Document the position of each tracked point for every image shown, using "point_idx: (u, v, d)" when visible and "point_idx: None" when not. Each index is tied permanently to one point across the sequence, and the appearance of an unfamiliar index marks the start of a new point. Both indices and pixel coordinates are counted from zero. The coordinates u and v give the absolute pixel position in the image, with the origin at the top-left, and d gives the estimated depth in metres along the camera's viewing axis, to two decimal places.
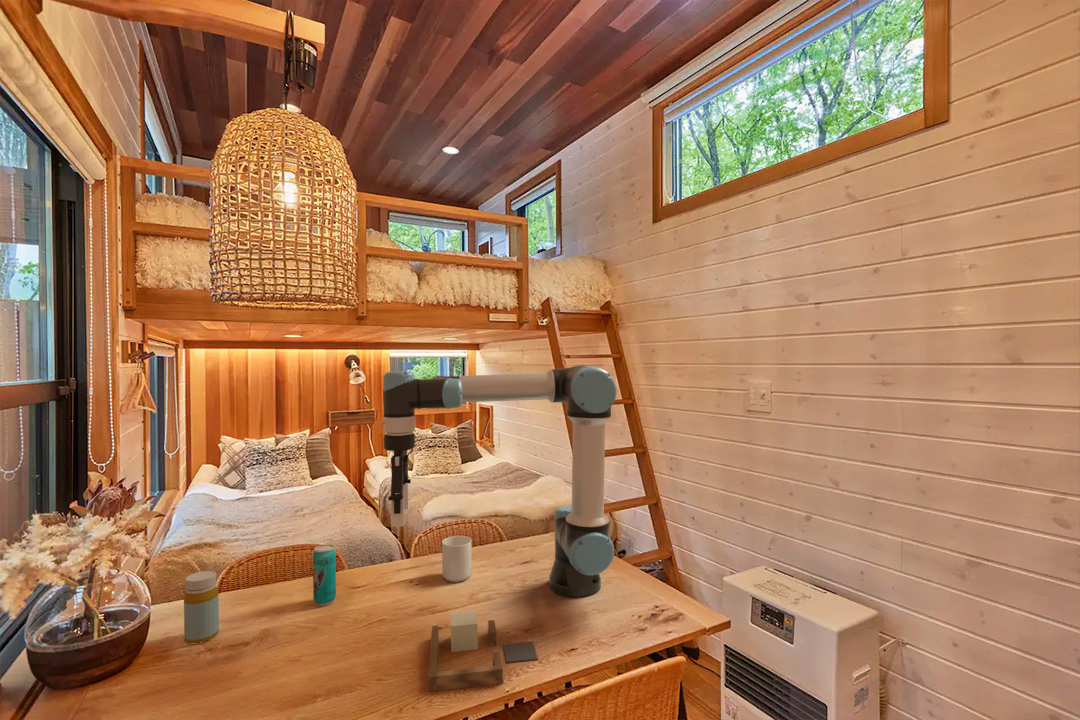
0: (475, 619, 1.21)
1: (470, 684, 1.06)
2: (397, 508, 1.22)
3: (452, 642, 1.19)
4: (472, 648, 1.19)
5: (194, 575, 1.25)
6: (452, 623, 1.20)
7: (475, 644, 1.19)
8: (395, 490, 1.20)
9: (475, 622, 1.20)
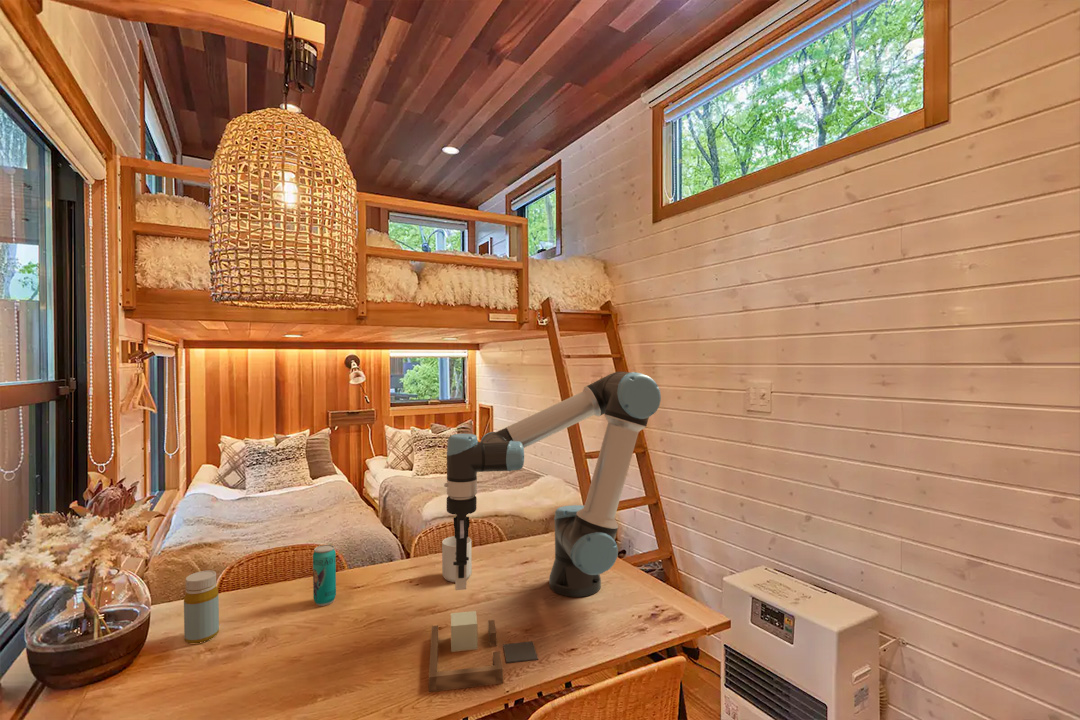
0: (475, 619, 1.21)
1: (470, 684, 1.06)
2: (461, 573, 1.29)
3: (452, 642, 1.19)
4: (472, 648, 1.19)
5: (194, 575, 1.25)
6: (452, 623, 1.20)
7: (475, 644, 1.19)
8: (460, 559, 1.27)
9: (475, 622, 1.20)
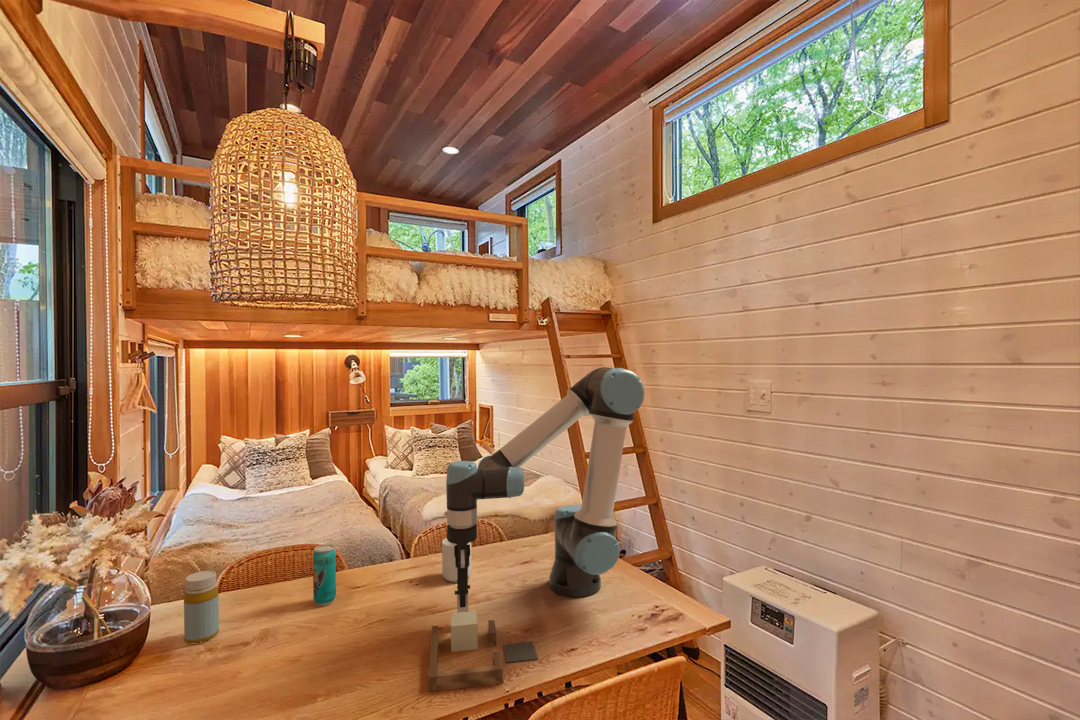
0: (475, 619, 1.21)
1: (470, 684, 1.06)
2: (463, 602, 1.28)
3: (452, 642, 1.19)
4: (472, 648, 1.19)
5: (194, 575, 1.25)
6: (452, 623, 1.20)
7: (475, 644, 1.19)
8: (462, 589, 1.26)
9: (475, 622, 1.20)
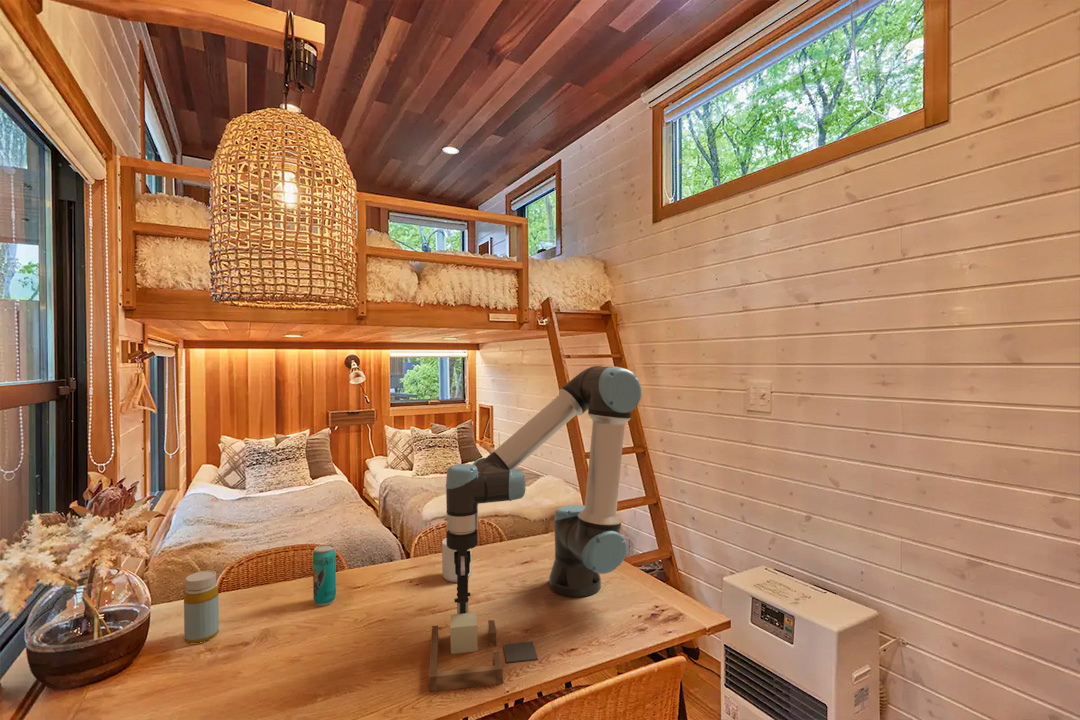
0: (475, 620, 1.20)
1: (470, 684, 1.06)
2: (463, 610, 1.24)
3: (452, 644, 1.18)
4: (472, 650, 1.18)
5: (194, 575, 1.25)
6: (452, 624, 1.19)
7: (475, 646, 1.19)
8: (462, 597, 1.22)
9: (475, 624, 1.19)
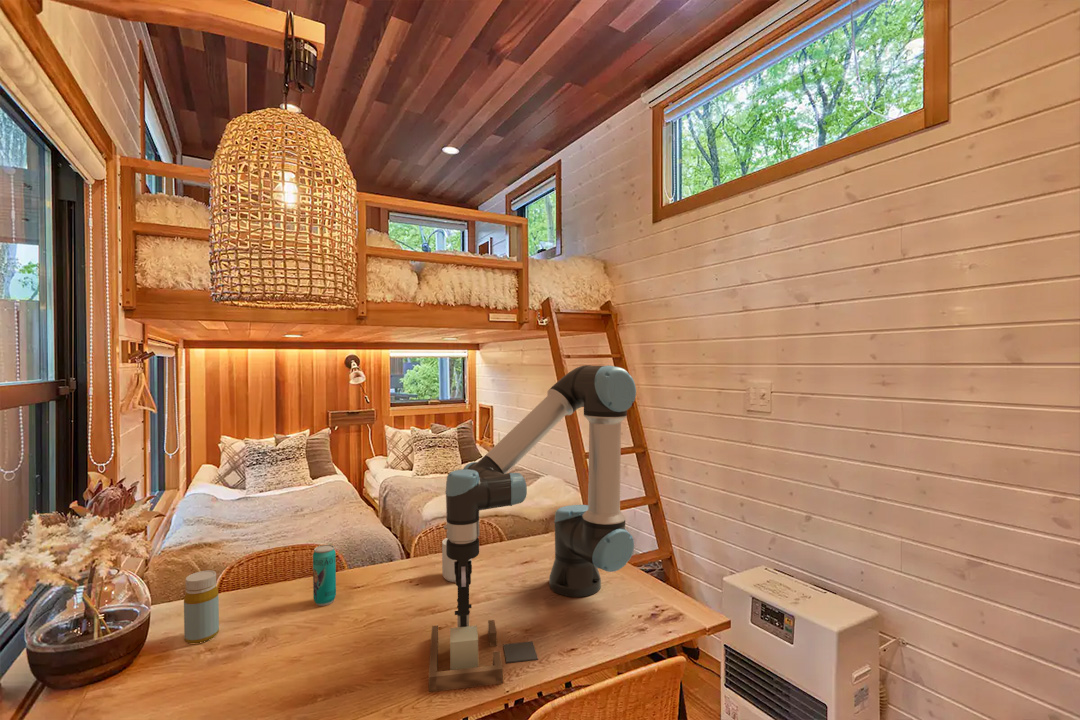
0: (476, 635, 1.14)
1: (470, 684, 1.06)
2: (463, 623, 1.18)
3: (451, 659, 1.12)
4: (473, 666, 1.12)
5: (194, 575, 1.25)
6: (451, 639, 1.13)
7: (476, 661, 1.12)
8: (462, 609, 1.16)
9: (476, 638, 1.13)
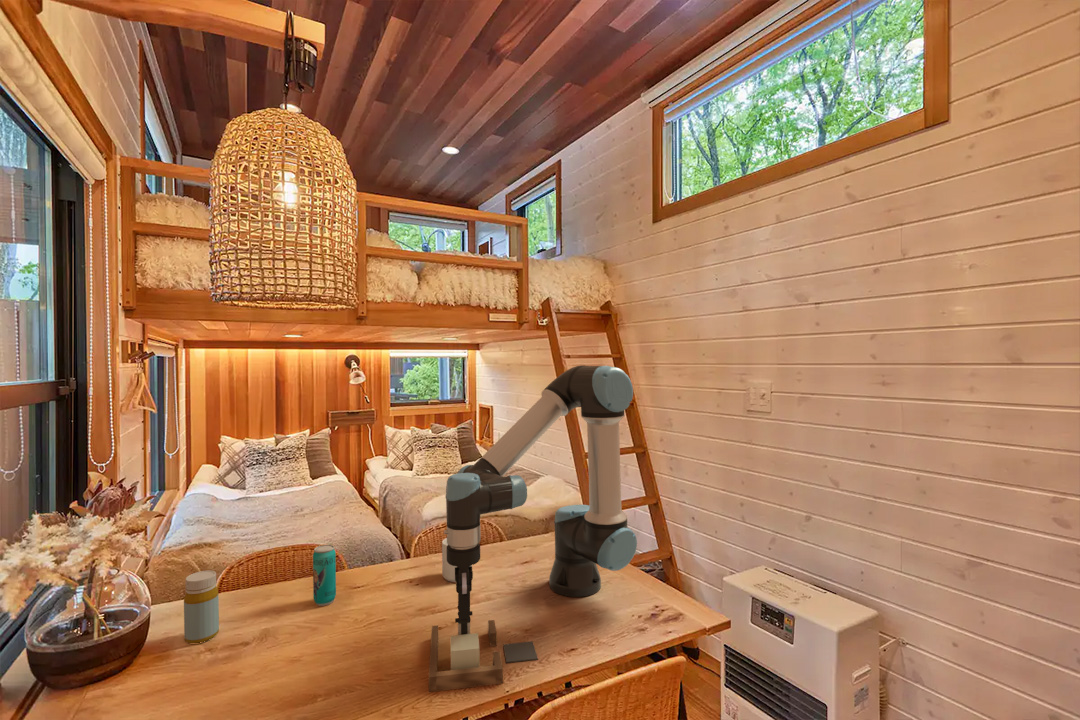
0: (477, 643, 1.11)
1: (470, 684, 1.06)
2: (464, 631, 1.15)
3: (452, 668, 1.08)
4: None
5: (194, 575, 1.25)
6: (452, 647, 1.09)
7: None
8: (463, 617, 1.13)
9: (477, 646, 1.10)
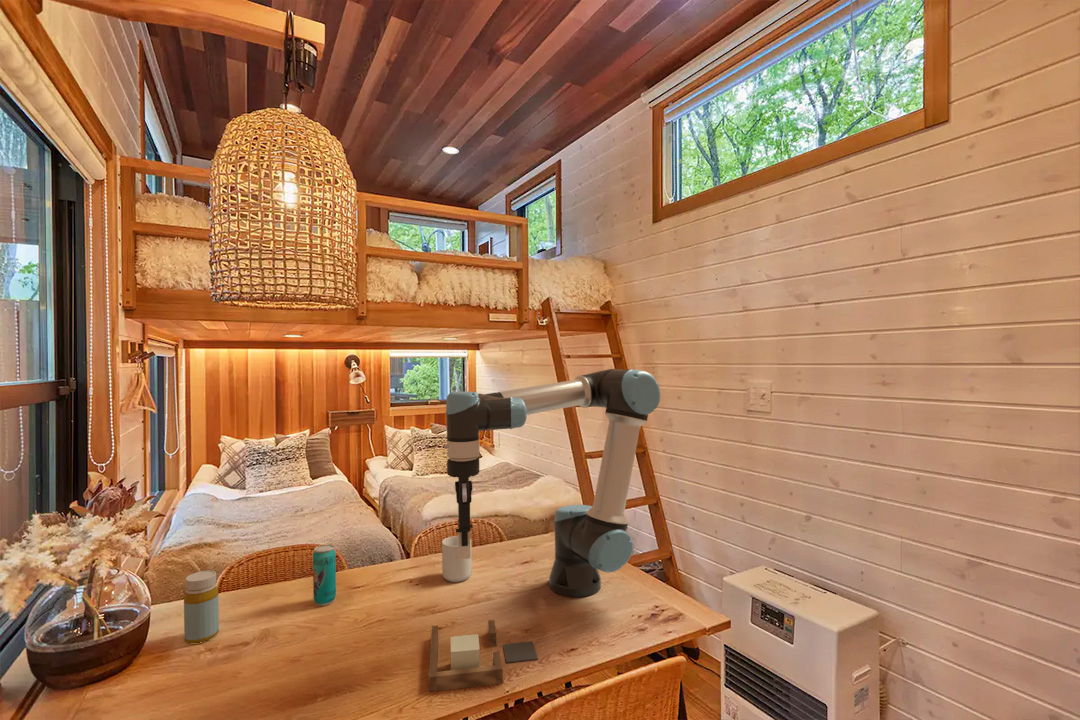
0: (477, 644, 1.11)
1: (470, 684, 1.06)
2: (465, 540, 1.20)
3: (452, 669, 1.08)
4: None
5: (194, 575, 1.25)
6: (452, 648, 1.09)
7: None
8: (463, 525, 1.18)
9: (477, 647, 1.10)
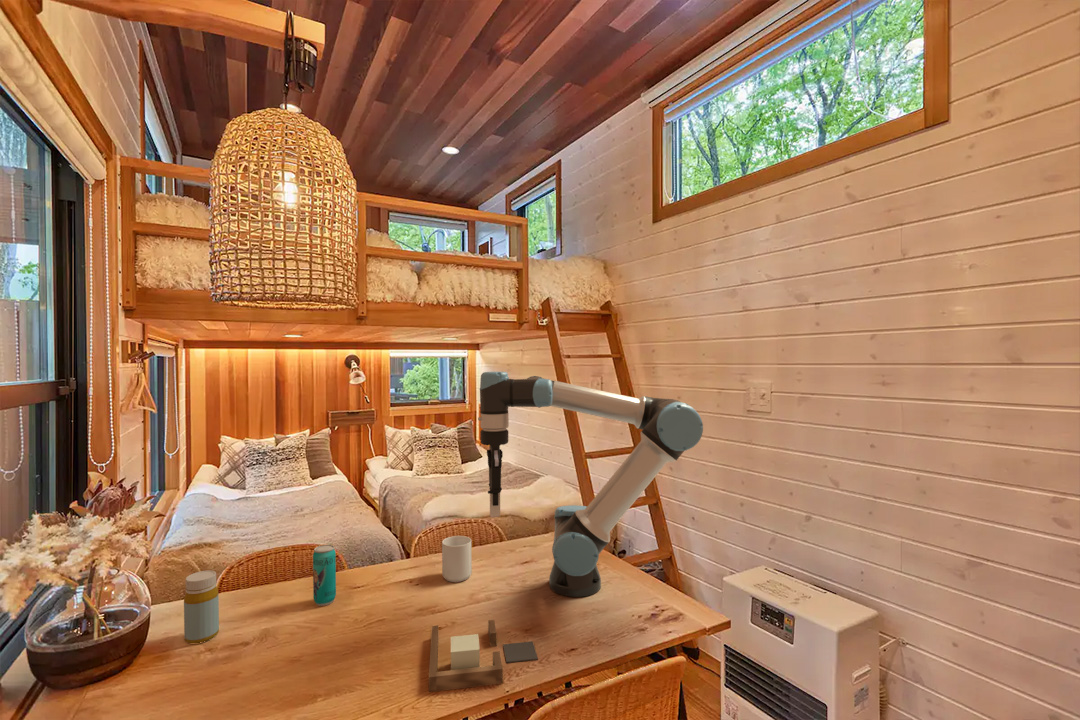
0: (477, 644, 1.11)
1: (470, 684, 1.06)
2: (496, 500, 1.38)
3: (452, 669, 1.08)
4: None
5: (194, 575, 1.25)
6: (452, 648, 1.09)
7: None
8: (495, 486, 1.35)
9: (477, 647, 1.10)
